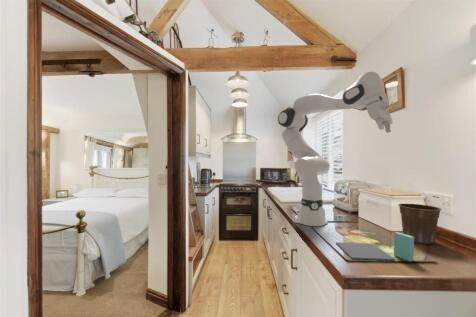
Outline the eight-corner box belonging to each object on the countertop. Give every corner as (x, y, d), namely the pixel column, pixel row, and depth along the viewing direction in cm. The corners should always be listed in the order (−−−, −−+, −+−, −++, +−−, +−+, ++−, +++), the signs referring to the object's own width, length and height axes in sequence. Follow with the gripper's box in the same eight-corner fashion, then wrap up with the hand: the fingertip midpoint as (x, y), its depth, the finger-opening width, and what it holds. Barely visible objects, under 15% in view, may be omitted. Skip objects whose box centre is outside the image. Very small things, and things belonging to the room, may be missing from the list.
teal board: (397, 254, 94) (398, 232, 94) (413, 260, 89) (414, 236, 89) (393, 255, 93) (394, 232, 93) (409, 261, 88) (410, 237, 88)
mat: (335, 243, 105) (335, 242, 105) (372, 244, 104) (372, 243, 104) (351, 259, 89) (351, 257, 89) (395, 260, 88) (395, 259, 88)
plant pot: (393, 232, 122) (393, 202, 122) (430, 236, 117) (431, 204, 117) (404, 243, 107) (405, 208, 107) (448, 248, 102) (448, 211, 102)
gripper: (377, 110, 120) (385, 136, 116) (361, 101, 106) (369, 129, 103) (391, 105, 115) (399, 131, 112) (376, 94, 102) (385, 124, 98)
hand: (385, 130), depth 107 cm, fingers open, 8 cm apart
